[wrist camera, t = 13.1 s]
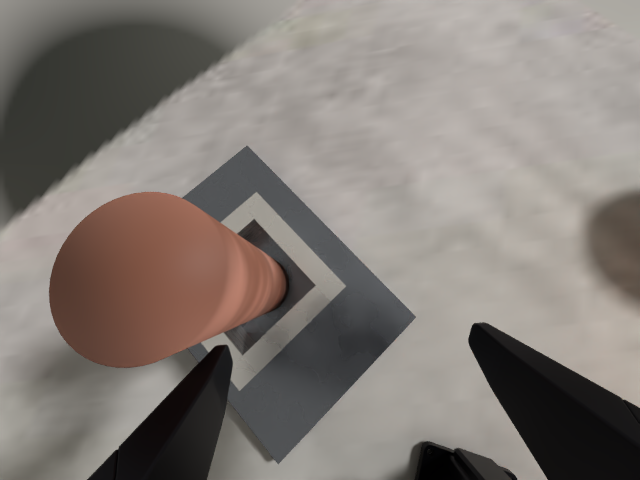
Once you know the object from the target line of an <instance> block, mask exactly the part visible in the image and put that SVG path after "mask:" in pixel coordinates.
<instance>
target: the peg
mask: <svg viewBox="0 0 640 480" xmlns="http://www.w3.org/2000/svg"><path fill="white" fill-rule="evenodd" d="M288 290H289V278H288V274H287V272H286V270H285V268H284V267H283V266H282V265H281V264H280V263H279V262H278V261H276V260H275V259H273V258H272V257H270V256H269V255H267V254H266V253H264V252H263V251H261V250H260V249H259V248H257V247H256V246H254V245H253V244H251V243H250V242H248V241H247V240H245V239H244V238H242V237H241V236H239V235H238V234H236V233H235V232H233V231H232V230H230V229H229V228H228V227H226V226H225V225H223V224H222V223H220V222H219V221H217V220H216V219H214V218H213V217H211V216H210V215H208V214H207V213H205V212H204V211H202V210H201V209H200V208H198V207H197V206H195V205H194V204H192V203H190V202H188V201H187V200H185V199H182V198H180V197H177V196H174V195H171V194H167V193H159V192H142V193H134V194H130V195H126V196H123V197H120V198H117V199H114V200H112V201H110V202H108V203H106V204H104V205H102V206H101V207H99V208H98V209H96V210H94V211H93V212H92V213H90V214H89V215H88V216H87V217H86V218H84V219H83V220H82V221H81V222H80V223H79V224H78V225H77V226H76V227H75V229H74V230H73V231H72V232H71V234H70V235H69V236H68V238H67V239H66V241H65V242H64V244H63V245H62V247H61V249H60V251H59V253H58V255H57V257H56V260H55V263H54V266H53V269H52V274H51V278H50V287H49V299H50V307H51V313H52V316H53V319H54V322H55V325H56V327H57V328H58V330H59V332H60V334H61V336H62V337H63V338H64V340H65V341H66V342H67V344H69V345H70V346H71V347H72V348H73V349H74V350H75V351H76V352H77V353H79V354H80V355H82V356H83V357H85V358H87V359H89V360H91V361H93V362H95V363H98V364H102V365H105V366H110V367H117V368H130V367H138V366H144V365H147V364H151V363H154V362H157V361H159V360H161V359H164V358H166V357H168V356H171V355H173V354H175V353H178V352H180V351H182V350H184V349H187V348H189V347H191V346H194V345H196V344H198V343H200V342H203V341H205V340H207V339H210V338H212V337H214V336H216V335H219V334H221V333H223V332H225V331H228V330H230V329H232V328H235V327H237V326H239V325H241V324H244V323H246V322H248V321H251V320H253V319H255V318H257V317H260V316H262V315H264V314H267V313H269V312H271V311H273V310H275V309H276V308H278V307H279V306H280V305H281V304H282V303H283V301H284V300H285V298H286V296H287V294H288Z"/></svg>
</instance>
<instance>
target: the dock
mask: <svg viewBox="0 0 640 480" xmlns="http://www.w3.org/2000/svg"><path fill="white" fill-rule="evenodd" d="M182 199H185V200H187V201H188V202H190V203H192V204H194V205H195V206H197V207H198V208H200V209H201V210H202V211H204V212H205V213H207V214H208V215H210V216H211V217H213V218H214V219H216V220H217V221H219V222H220V223H222V224H223V225H225V226H226V227H228V228H229V229H230V230H232V231H233V232H235V233H236V234H238V235H239V236H241V237H242V238H244V239H245V240H247V241H248V242H250V243H251V244H253V245H254V246H256V247H257V248H259V249H260V250H261V251H263V252H264V253H266V254H267V255H269V256H270V257H272V258H273V259H275V260H276V261H278V262H279V263H280V264H281V265H282V266H283V267H284V268H285V270H286V272H287V274H288V278H289V290H288V294H287V296H286V298H285V300H284V301H283V303H282V304H281V305H280V306H279V307H278V308H276V309H275V310H273V311H271V312H269V313H267V314H264V315H262V316H260V317H257V318H255V319H253V320H251V321H248V322H246V323H244V324H241V325H239V326H237V327H235V328H232V329H230V330H228V331H225V332H223V333H221V334H219V335H216V336H214V337H212V338H210V339H207V340H205V341H203V342H200V343H198V344H196V345H194V346H191V347H189V348H188V349H189V351H190V352H191V353H192V354H193V356H194V357H195V358H196V360H197V361H198V362H200V361H201V360H202V359H203V358H204V357H205V356H206V355H207V354H208V353H209V352H210V351H211V350H212V349H213V348H214V347H215V346H216V345H225V344H226V345H228V347H229V349H230V353H231V356H232V360H233V368H232V374H231V380H230V386H229V391H228V397H227V399H228V401H229V402H230V403H231V404H232V406H233V407H234V408H235V410H236V411H237V412H238V413H239V415H240V416H241V417H242V419H243V420H244V421H245V422H246V424H247V425H248V426H249V428H250V429H251V430H252V431H253V433H254V434H255V435H256V437H257V438H258V439H259V440H260V442H261V443H262V444H263V445H264V447H265V448H266V449H267V451H268V452H269V453H270V454H271V456H272V457H273V458H274V460H275V461H276V462H277V463H278V464H279V463H280V462H281V461H282V460H283V459H284V458H285V456H286V455H287V454H288V453H289V452H290V451H291V450H292V449H293V448H294V447H295V446H296V445H297V444H298V443H299V442H300V440H301V439H302V438H303V437H304V436H305V435H306V434H307V433H308V432H309V431H310V430H311V429H312V428H313V427H314V426H315V424H316V423H317V422H318V421H319V420H320V419H321V418H322V417H323V416H324V415H325V414H326V413H327V412H328V411H329V409H330V408H331V407H332V406H333V405H334V404H335V403H336V402H337V401H338V400H339V399H340V398H341V397H342V396H343V395H344V393H345V392H346V391H347V390H348V389H349V388H350V387H351V386H352V385H353V384H354V383H355V382H356V381H357V380H358V379H359V377H360V376H361V375H362V374H363V373H364V372H365V371H366V370H367V369H368V368H369V367H370V366H371V365H372V364H373V363H374V361H375V360H376V359H377V358H378V357H379V356H380V355H381V354H382V353H383V352H384V351H385V350H386V349H387V348H388V347H389V345H390V344H391V343H392V342H393V341H394V340H395V339H396V338H397V337H398V336H399V335H400V334H401V333H402V332H403V331H404V329H405V328H406V327H407V326H408V325H409V324H410V323H411V322H412V321H413V320H414V319H415V318H416V317H415V316H414V315H413V313H412V312H411V311H410V310H409V309H408V308H407V307H406V306H405V305H404V304H403V303H402V302H401V301H400V300H399V299H398V298H397V297H396V296H395V295H394V294H393V293H392V292H391V291H390V290H389V289H388V288H387V287H386V286H385V285H384V284H383V283H382V282H381V281H380V280H379V279H378V278H377V277H376V276H375V275H374V274H373V273H372V272H371V271H370V270H369V269H368V268H367V267H366V266H365V265H364V264H363V263H362V262H361V261H360V260H359V259H358V258H357V257H356V256H355V255H354V254H353V253H352V252H351V250H350V249H349V248H348V247H347V246H346V245H345V244H344V243H343V242H342V241H341V240H340V239H339V238H338V237H337V236H336V235H335V234H334V233H333V232H332V231H331V230H330V229H329V228H328V227H327V226H326V225H325V224H324V223H323V222H322V221H321V220H320V219H319V218H318V217H317V216H316V215H315V214H314V213H313V212H312V211H311V210H310V209H309V208H308V207H307V206H306V205H305V204H304V203H303V202H302V201H301V200H300V199H299V198H298V197H297V196H296V195H295V194H294V193H293V192H292V191H291V190H290V189H289V188H288V186H287V185H286V184H285V183H284V182H283V181H282V180H281V179H280V178H279V177H278V176H277V175H276V174H275V173H274V172H273V171H272V170H271V169H270V168H269V167H268V166H267V165H266V164H265V163H264V162H263V161H262V160H261V159H260V158H259V157H258V156H257V155H256V154H255V153H254V152H253V151H252V150H251V149H250V148H249V147H248V146H246V147H245V148H243V149H242V150H241V151H240V152H239V153H237V154H236V155H235V156H234V157H232V158H231V159H230V160H229V161H227V162H226V163H225V164H224V165H222V166H221V167H220V168H219V169H218V170H216V171H215V172H214V173H213V174H211V175H210V176H209V177H208V178H206V179H205V180H204V181H203V182H201V183H200V184H199V185H198V186H196V187H195V188H194V189H193V190H192V191H190V192H189V193H188V194H187V195H185V196H184V197H183V198H182Z"/></svg>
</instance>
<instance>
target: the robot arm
mask: <svg viewBox="0 0 640 480" xmlns="http://www.w3.org/2000/svg"><path fill="white" fill-rule="evenodd" d="M468 342H469V346H470V348H471V350H472V352H473V354H474V356H475V358H476V360H477V362H478V364H479V366H480V368H481V370H482V372H483V373H484V375H485V377H486V379H487V381H488V383H489V385H490V387H491V389H492V390H493V392H494V394H495V395H496V397H497V399H498V400H499V402H500V403H501V405H502V407H503V408H504V410H505V411H506V413H507V415H508V416H509V418H510V419H511V421H512V423H513V424H514V426H515V428H516V429H517V431H518V432H519V434H520V436H521V437H522V439H523V440H524V442H525V444H526V445H527V447H528V448H529V450H530V452H531V453H532V455H533V456H534V458H535V460H536V461H537V463H538V464H539V466H540V468H541V469H542V471H543V472H544V474H545V476H546V477H547V479H548V480H640V408H639V407H637V406H635V405H633V404H632V403H630V402H628V401H626V400H622V398H621V397H619V396H617V395H615V394H613V393H612V392H610V391H608V390H606V389H604V388H603V387H601V386H599V385H597V384H595V383H594V382H592V381H590V380H588V379H586V378H585V377H583V376H581V375H579V374H577V373H576V372H574V371H572V370H570V369H568V368H567V367H565V366H563V365H561V364H560V363H558V362H556V361H554V360H552V359H551V358H549V357H547V356H545V355H543V354H542V353H540V352H538V351H536V350H534V349H533V348H531V347H529V346H527V345H525V344H524V343H522V342H520V341H518V340H516V339H515V338H513V337H511V336H509V335H507V334H506V333H504V332H502V331H500V330H498V329H497V328H495V327H493V326H491V325H489V324H487V323H484V322H483V323H474V324H473V325H472V328H471V331H470V335H469V339H468ZM232 368H233V360H232V356H231V353H230V349H229V347H228V345H226V344H225V345H216V346H215V347H214V348H213V349H212V350H211V351H210V352H209V353H208V354H207V355H206V356H205V357H204V358H203V359H202V360H201V361H200V362H199V363H198V364H197V365H196V366H195V367H194V369H193V370H192V371H191V372H190V373H189V374H188V375H187V376H186V377H185V378H184V379H183V380H182V381H181V382H180V383H179V384H178V385H177V386H176V387H175V388H174V390H173V391H172V392H171V393H170V394H169V395H168V396H167V397H166V398H165V399H164V400H163V401H162V402H161V403H160V404H159V405H158V406H157V407H156V408H155V409H154V411H153V412H152V413H151V414H150V415H149V416H148V417H147V418H146V419H145V420H144V421H143V422H142V423H141V424H140V425H139V426H138V427H137V428H136V429H135V430H134V432H133V433H132V434H131V435H130V436H129V437H128V438H127V439H126V440H125V441H124V442H123V443H122V444H121V445H120V446H119V449H118V450H115V451H114V452H113V453H112V455H111V456H110V457H109V458H108V459H107V460H106V461H105V462H104V463H103V464H102V465H101V466H100V467H99V468H98V469H97V470H96V471H95V472H94V473H93V474H92V475H91V476H90V477H89V478H88V479H87V480H207V477H208V473H209V469H210V466H211V462H212V458H213V455H214V451H215V447H216V444H217V440H218V436H219V433H220V429H221V425H222V422H223V418H224V414H225V409H226V403H227V397H228V391H229V386H230V380H231V374H232ZM429 449H432V452H431V453H430V454H429V453H427V452H428V450H429ZM415 480H517V478H516V476H515V475H514V474H513V473H512V472H511V471H510V470H508V469H506V468H503V467H500V466H498V465H497V464H496V463H495V462H494V461H493V460H491V459H489V458H486V457H483V456H480V455H477V454H475V453H472V452H469V451H466V450H463V449H460V448H456V449H454V450H452V449H449V448H446V447H444V446H441V445H438V444H435V443H432V442H428V441H427V442H424V443H423V445H422V447H421V452H420V457H419V462H418V467H417V472H416V477H415Z"/></svg>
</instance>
